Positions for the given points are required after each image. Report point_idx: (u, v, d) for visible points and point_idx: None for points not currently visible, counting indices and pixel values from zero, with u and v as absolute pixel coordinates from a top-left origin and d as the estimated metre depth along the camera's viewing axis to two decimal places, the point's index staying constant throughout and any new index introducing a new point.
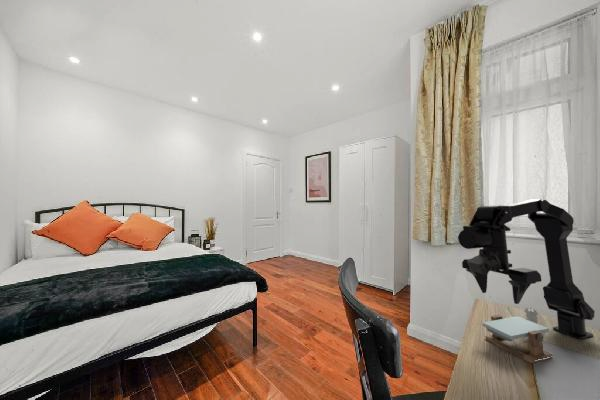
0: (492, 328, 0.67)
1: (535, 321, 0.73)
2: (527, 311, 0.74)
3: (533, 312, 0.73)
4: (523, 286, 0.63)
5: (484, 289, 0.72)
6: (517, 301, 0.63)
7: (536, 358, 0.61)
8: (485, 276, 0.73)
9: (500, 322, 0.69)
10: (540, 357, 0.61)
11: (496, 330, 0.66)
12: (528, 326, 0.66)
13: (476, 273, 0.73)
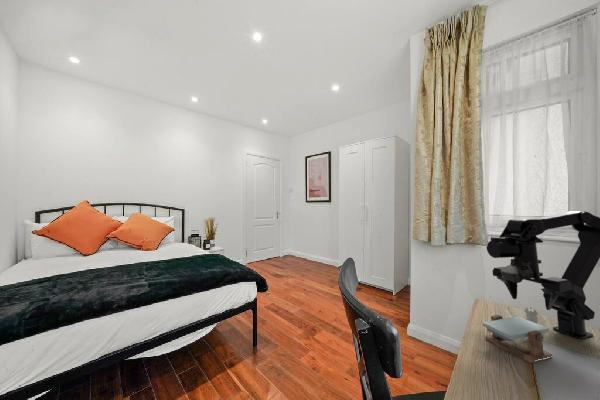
0: (492, 328, 0.67)
1: (535, 321, 0.73)
2: (527, 311, 0.74)
3: (533, 312, 0.73)
4: (554, 294, 0.69)
5: (515, 295, 0.78)
6: (549, 307, 0.69)
7: (536, 358, 0.61)
8: (515, 283, 0.79)
9: (500, 322, 0.69)
10: (540, 357, 0.61)
11: (496, 330, 0.66)
12: (528, 326, 0.66)
13: (507, 281, 0.79)
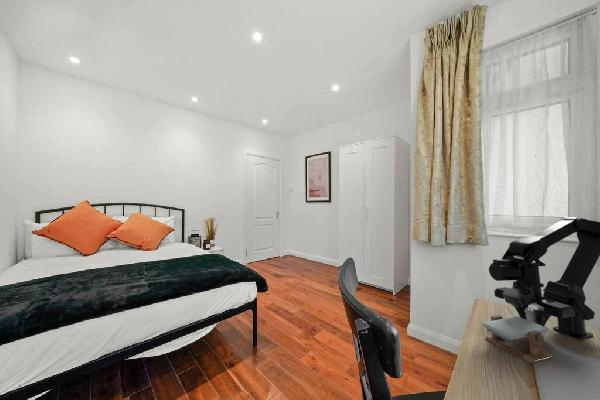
0: (492, 328, 0.67)
1: (535, 321, 0.73)
2: (527, 311, 0.74)
3: (533, 312, 0.73)
4: (546, 315, 0.71)
5: None
6: None
7: (536, 358, 0.61)
8: None
9: (500, 322, 0.69)
10: (540, 357, 0.61)
11: (496, 330, 0.66)
12: (528, 326, 0.66)
13: None
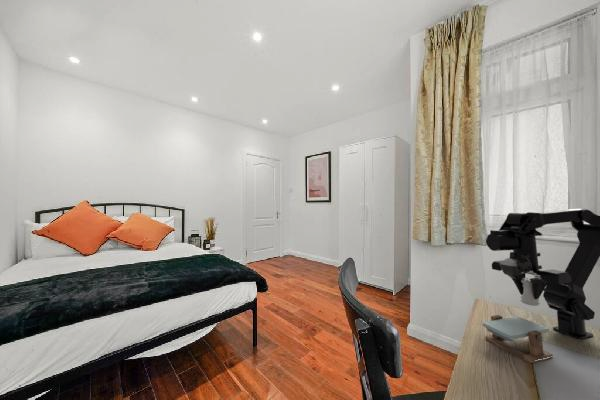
0: (492, 328, 0.67)
1: (532, 290, 0.73)
2: (524, 281, 0.74)
3: (530, 281, 0.73)
4: (542, 283, 0.71)
5: None
6: (537, 296, 0.72)
7: (536, 358, 0.61)
8: None
9: (500, 322, 0.69)
10: (540, 357, 0.61)
11: (496, 330, 0.66)
12: (528, 326, 0.66)
13: (515, 276, 0.76)
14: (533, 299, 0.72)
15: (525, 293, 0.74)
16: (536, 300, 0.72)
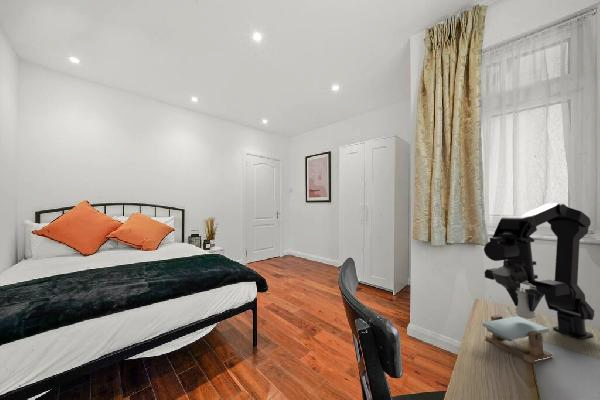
0: (492, 328, 0.67)
1: (527, 302, 0.68)
2: (518, 291, 0.69)
3: (525, 292, 0.68)
4: (538, 295, 0.66)
5: (517, 302, 0.70)
6: (533, 308, 0.66)
7: (536, 358, 0.61)
8: None
9: (500, 322, 0.69)
10: (540, 357, 0.61)
11: (496, 330, 0.66)
12: (528, 326, 0.66)
13: (509, 286, 0.71)
14: (528, 311, 0.67)
15: (520, 304, 0.68)
16: (532, 313, 0.67)
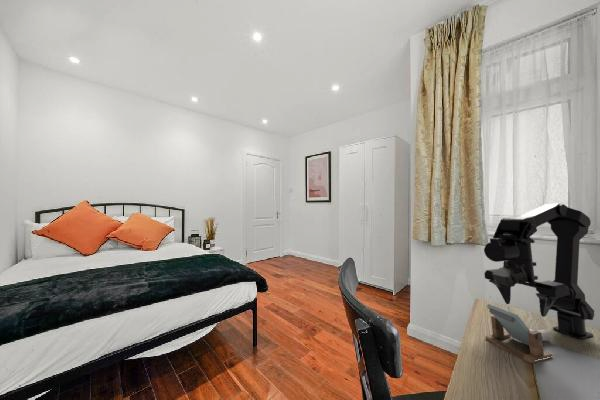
0: (497, 308, 0.68)
1: (543, 336, 0.68)
2: None
3: None
4: (550, 299, 0.63)
5: (508, 300, 0.73)
6: (544, 313, 0.64)
7: (536, 358, 0.61)
8: (508, 287, 0.74)
9: None
10: (540, 357, 0.61)
11: (501, 310, 0.67)
12: None
13: (500, 284, 0.73)
14: None
15: None
16: None
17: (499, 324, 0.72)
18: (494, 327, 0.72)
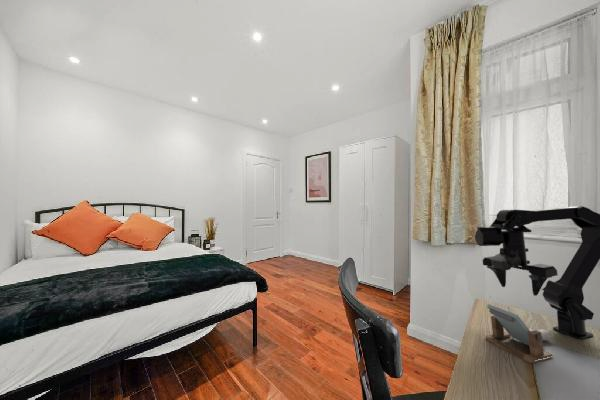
0: (497, 308, 0.68)
1: (542, 335, 0.68)
2: None
3: None
4: (541, 280, 0.72)
5: (504, 283, 0.82)
6: (536, 293, 0.72)
7: (536, 358, 0.61)
8: (504, 272, 0.83)
9: None
10: (540, 357, 0.61)
11: (501, 310, 0.67)
12: None
13: (496, 269, 0.82)
14: None
15: None
16: None
17: (499, 324, 0.72)
18: (494, 327, 0.72)
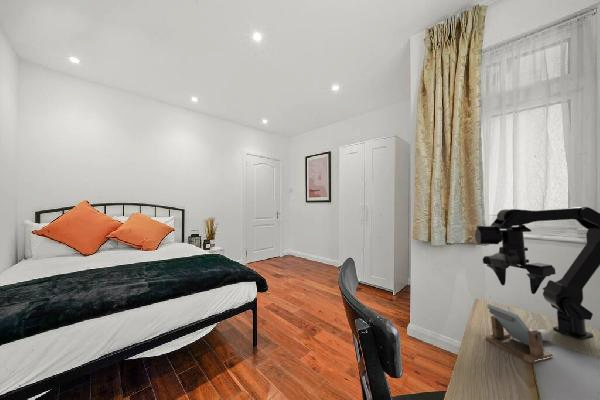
0: (497, 308, 0.68)
1: (542, 335, 0.68)
2: None
3: None
4: (539, 278, 0.73)
5: (503, 282, 0.83)
6: (534, 291, 0.73)
7: (536, 358, 0.61)
8: (504, 271, 0.84)
9: None
10: (540, 357, 0.61)
11: (501, 310, 0.67)
12: None
13: (496, 268, 0.83)
14: None
15: None
16: None
17: (499, 324, 0.72)
18: (494, 327, 0.72)
